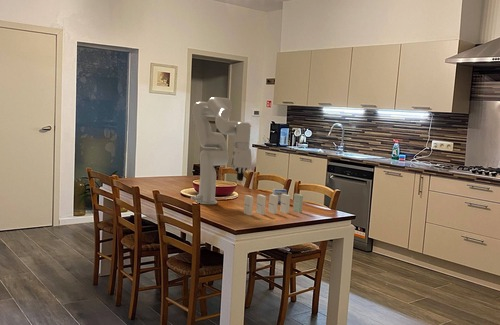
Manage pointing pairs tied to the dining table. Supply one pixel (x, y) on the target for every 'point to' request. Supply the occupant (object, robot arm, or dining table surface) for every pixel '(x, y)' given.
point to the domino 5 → (298, 203)
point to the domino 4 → (285, 203)
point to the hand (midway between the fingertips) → (239, 180)
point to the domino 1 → (248, 204)
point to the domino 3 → (273, 204)
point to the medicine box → (279, 193)
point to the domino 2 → (261, 204)
